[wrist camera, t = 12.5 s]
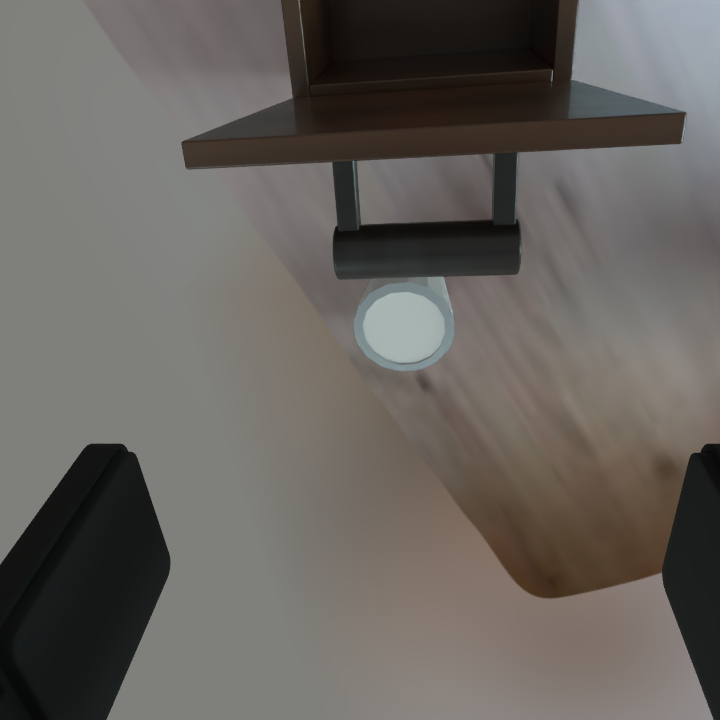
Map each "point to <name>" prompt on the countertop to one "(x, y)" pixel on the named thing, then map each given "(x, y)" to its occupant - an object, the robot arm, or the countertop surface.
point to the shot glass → (405, 322)
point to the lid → (432, 139)
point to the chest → (426, 44)
